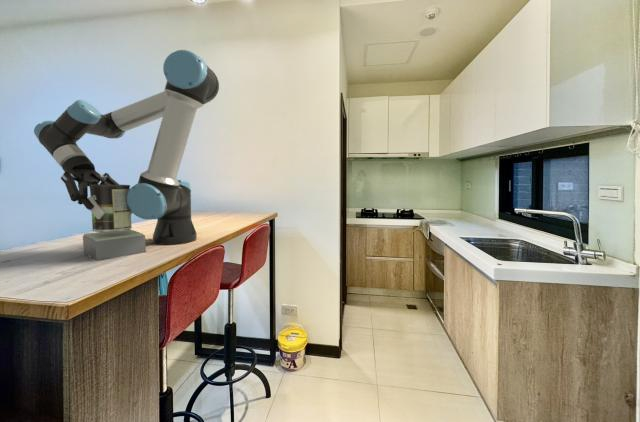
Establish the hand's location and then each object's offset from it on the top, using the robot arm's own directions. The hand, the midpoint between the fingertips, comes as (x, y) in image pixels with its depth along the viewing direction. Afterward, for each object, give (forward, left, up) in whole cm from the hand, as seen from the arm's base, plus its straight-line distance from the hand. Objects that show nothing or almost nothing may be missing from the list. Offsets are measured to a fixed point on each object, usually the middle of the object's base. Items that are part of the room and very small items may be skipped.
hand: (117, 214), depth 90 cm
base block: (+1, -2, -12) cm, 13 cm away
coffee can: (+1, -2, -5) cm, 6 cm away
